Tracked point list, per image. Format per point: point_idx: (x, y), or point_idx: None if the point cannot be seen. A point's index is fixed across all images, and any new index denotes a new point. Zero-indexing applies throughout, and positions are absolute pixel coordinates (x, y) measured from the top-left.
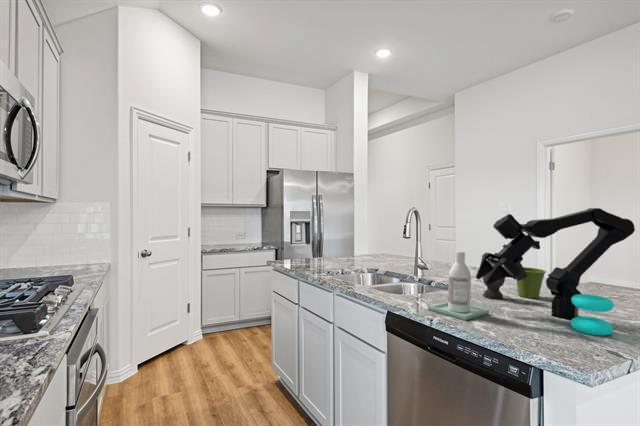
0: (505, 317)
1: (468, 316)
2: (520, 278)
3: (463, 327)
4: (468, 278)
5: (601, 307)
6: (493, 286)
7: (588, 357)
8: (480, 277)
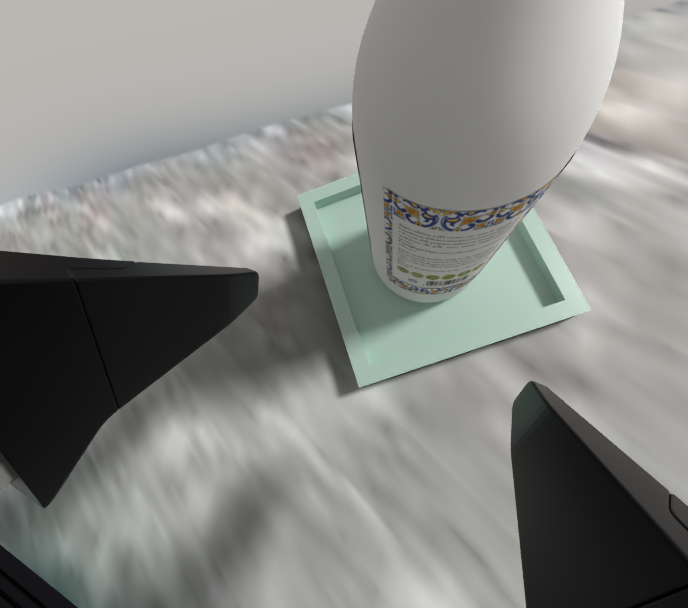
0: (291, 425)
1: (304, 216)
2: None
3: (246, 156)
4: (355, 145)
5: None
6: None
7: None
8: (515, 432)
